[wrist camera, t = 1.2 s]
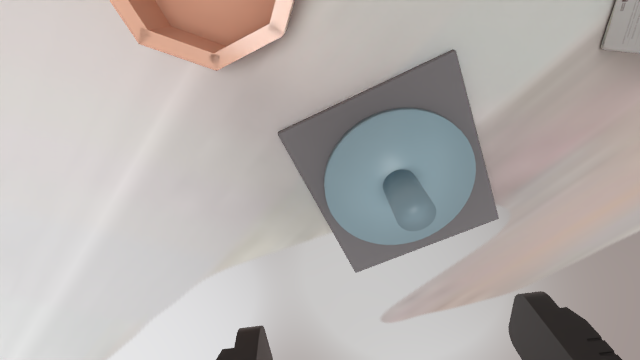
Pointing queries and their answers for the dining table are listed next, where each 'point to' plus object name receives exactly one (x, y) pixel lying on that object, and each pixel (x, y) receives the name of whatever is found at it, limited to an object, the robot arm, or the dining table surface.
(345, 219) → the lid
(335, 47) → the dining table surface
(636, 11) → the skincare box
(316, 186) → the mat
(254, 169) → the dining table surface
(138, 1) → the bowl
